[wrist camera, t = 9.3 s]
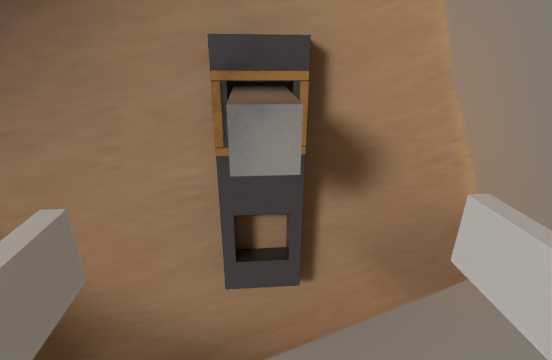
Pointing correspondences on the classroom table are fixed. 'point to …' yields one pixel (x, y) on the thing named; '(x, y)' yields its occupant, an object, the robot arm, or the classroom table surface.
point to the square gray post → (264, 131)
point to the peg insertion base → (258, 189)
